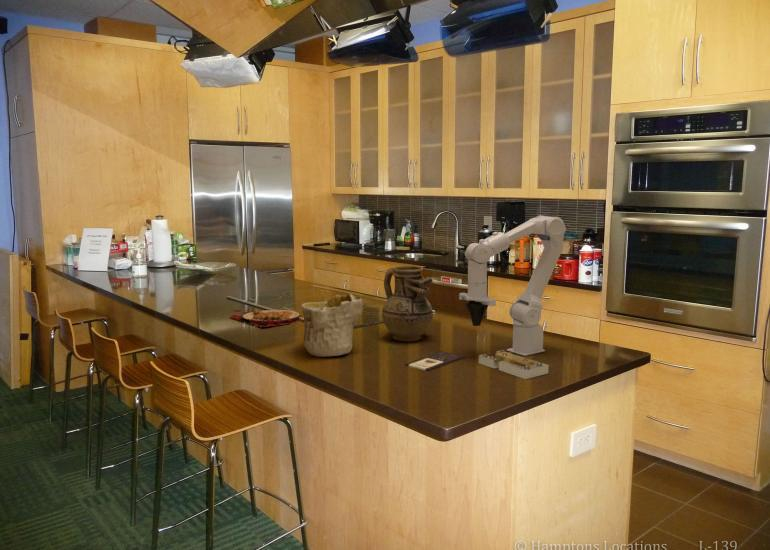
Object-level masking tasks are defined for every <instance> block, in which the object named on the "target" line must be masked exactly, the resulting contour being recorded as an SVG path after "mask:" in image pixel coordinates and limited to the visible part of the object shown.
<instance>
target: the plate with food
mask: <svg viewBox="0 0 770 550" xmlns="http://www.w3.org/2000/svg"><path fill="white" fill-rule="evenodd" d="M232 312H237V313H241V312H242V310H238V309H237V310H236V309H233V310H232ZM300 314H301V313H300V312H298V311H296V310H288V309H272V310H271V309H267V310H266V309H265V310H259V309H257V310H254V311H252V310H251V311H249V310H247V311H243V312H242V314H241V315H237V314H233V315H228V316H229V317H230V318H232V319H234V320H235V321H240V322H243V323H246V324H247V322H246V321H244V319H245V320H248V322H249V323H248V324H249V325H251V326H253V327H258V326H259V328H270V327H278V326H282V325H283V326H284V325H288V324H289V325H292V324H296V323H297V322H299V321H300V319H299V317H300ZM301 323H304V320H301ZM248 324H247V325H248ZM265 325H266V326H265Z"/></svg>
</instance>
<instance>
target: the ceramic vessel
mask: <svg viewBox="0 0 770 550" xmlns="http://www.w3.org/2000/svg"><path fill="white" fill-rule="evenodd" d="M363 302H364V301H363V299H362V297H359V296H355V295H353V294H352V293H348V294H347V295H344V294H342V295H340V294H336V295H334V296H332V297H331V298H329V299H328V300H325V301H319V302H318V301H317V302H311V301H310V302H305V303H302V304H301V305H300V308H301V311H302V314H303V315H304V316H303V315H302V316H303V317H304V320H303V321H304V322H303V326H304V332H303V338H302V339H303V341H302V343H303V346H304V347H305V350H306V351H307V352H308V353H309V354H310V355H311V356H314V357H317V358H323V357H324V358H325V357H337V356H342V355H346V354H349V353H351V351H352V349H353V340H354V339H353V335H354V333H353V331H354V323H356V322H357V321H358V317H359V316H360V315H361V314H362V313H363V309H364V303H363Z"/></svg>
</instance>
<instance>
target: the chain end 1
mask: <svg viewBox="0 0 770 550" xmlns="http://www.w3.org/2000/svg"><path fill="white" fill-rule="evenodd" d="M502 352H507V353H510V354H513V352H510V351H506V350H505V349H499V350H496V352H495V354H498V353H502ZM478 364H480V365H482V366H485V367H489V368H492V369H497V368H498V369H499V366H498V359H496V358H495V355H490V356H489V355H488V353H482V354H479V355H478Z"/></svg>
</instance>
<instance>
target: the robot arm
mask: <svg viewBox="0 0 770 550" xmlns="http://www.w3.org/2000/svg"><path fill="white" fill-rule="evenodd" d="M566 231H567V227H566V225H565V223H564V220H563V219H562V218H560V217H559V216H546V215H540V214H539V215H536V217H532V218H530V219H529V220H527V221H525V222H523V223H521V224H519V225H518V226H515V228H513V229H511V230H509V231H507V232H505V233H504V232H501V231H499V232H498V231H494V232H492V234H491V235H490V236H488V237H486V238H485V239H483V238H481V239H479V240H478V243H477V242H473V243H470V244H469V245H468V247H467V248H466V250H465V252H464V256H465V258H466V259H467V262H468V263H467V293H466V292H460V293H459V294H458V296H459V297H458V299H459V300H465V301H468V302H466V303H465V307H466V308H467V311H468V313H469V316H470V319H471V323H472V326H473V327H479V326H480V327H481V326H482V325H481V324H482V320H483V317H484V314H485V312H486V311H487V309H488V307H495V306H497V300H496V299H495V298H491V296H487V292H488V291H487V288H488V286H487V285H488V284H487V283H488V282H487V281H488V280H487V279H488V278H487V277H488V275H487V274H488V262H489V260H490V259H491V257H493V256H495V255H497V254H499V253H501V252H503V251H505V250H507V249H509V247H510V244H511V243H514V242H516V241H519V240H520V239H522V238H525V237H528V236H530V235H533V234H534V235H535V236H536V237H537V238H538V239H539V240H540V241H541V244H542V246H543V250H542V251H541V254H540V256H539V259H538V261H537V263H536V266H535V267H534V270H533V272H532V274H531V277H530V279H529V282H528V284H527V285H526V288H525V290H524V292H522V294H520V295H519V296H518V297H517V299H516V300H515V301H514V303H512V304H511V306H510V308H509V316H510V317H511V319H512V326H513V327H512V347H510V348H507V349H506V352H512V354H513V353H514V354H516V355H519V356H520V355H521V356H522V357H525V356H526V357H527V356H530V355H534V354H538V353H543V352H545V351H546V350H545V349H544V329H543V327H542V325H540V323H539V322H540V320H541V318H542V310H543V307H544V306H543V302H542V300H541V299H542V296H543V294H544V292H545V290H546V288H547V286H548V283H549V282H550V279H551V277H552V275H553V272H554V270H555V268H556V265H557V263H558V261H559V259H560V256H561V254H562V252H563V250H564V239H565V238H564V237H565V236H564V235H565V233H566Z"/></svg>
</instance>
